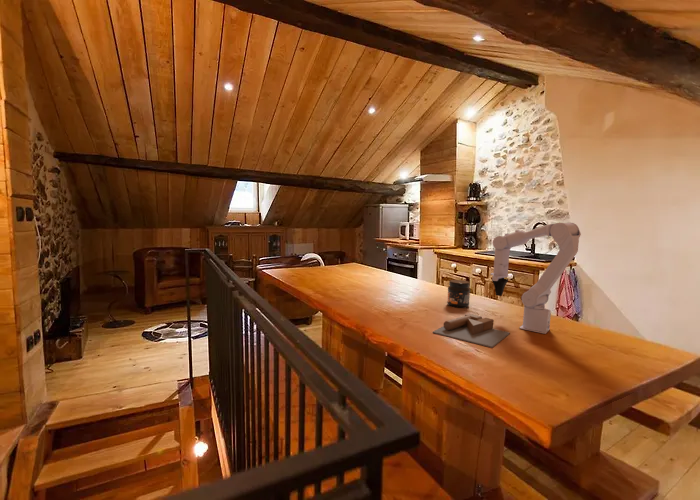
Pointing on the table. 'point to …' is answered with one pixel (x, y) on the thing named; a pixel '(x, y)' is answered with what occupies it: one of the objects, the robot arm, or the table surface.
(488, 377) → the table surface
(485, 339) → the mat
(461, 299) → the supplement container
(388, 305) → the table surface
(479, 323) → the wooden block
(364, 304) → the table surface
